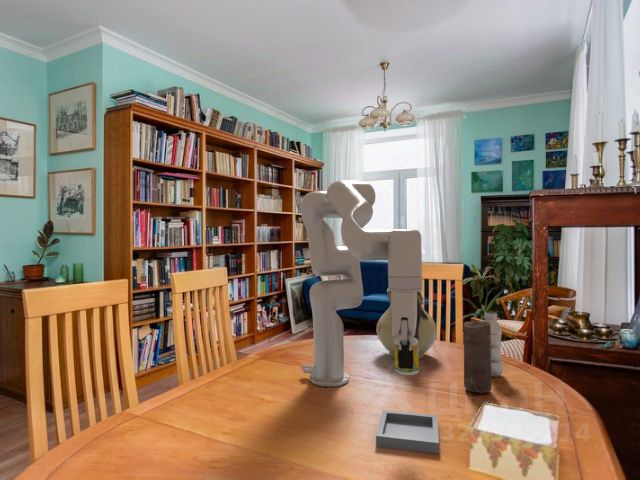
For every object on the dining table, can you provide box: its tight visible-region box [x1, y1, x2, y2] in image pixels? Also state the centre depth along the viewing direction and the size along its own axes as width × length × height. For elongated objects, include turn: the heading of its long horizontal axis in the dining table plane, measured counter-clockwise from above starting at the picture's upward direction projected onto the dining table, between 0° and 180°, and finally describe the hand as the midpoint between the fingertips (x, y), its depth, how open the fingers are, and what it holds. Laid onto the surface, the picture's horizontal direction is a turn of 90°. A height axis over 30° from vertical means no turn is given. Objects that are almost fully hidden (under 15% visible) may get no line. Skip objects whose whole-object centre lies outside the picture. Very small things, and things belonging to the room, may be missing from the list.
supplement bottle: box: [394, 332, 420, 376], centre depth 89 cm, size 5×5×10 cm
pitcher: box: [375, 288, 438, 360], centre depth 148 cm, size 22×24×25 cm
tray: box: [375, 409, 440, 455], centre depth 89 cm, size 13×13×2 cm
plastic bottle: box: [484, 311, 504, 377], centre depth 126 cm, size 6×7×20 cm
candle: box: [463, 320, 492, 394], centre depth 113 cm, size 8×7×20 cm
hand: (406, 362), depth 89 cm, fingers closed on supplement bottle, 5 cm apart
